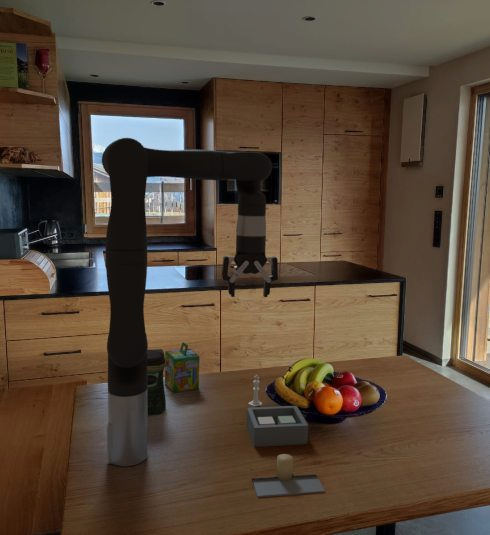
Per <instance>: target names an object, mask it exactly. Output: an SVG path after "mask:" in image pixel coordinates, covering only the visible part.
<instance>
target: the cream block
mask: <svg viewBox="0 0 490 535" xmlns="http://www.w3.org/2000/svg"><path fill="white" fill-rule="evenodd" d="M257 423H258V425H275V422H274V420H273V418H272V417H257Z"/></svg>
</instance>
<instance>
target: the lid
mask: <svg viewBox="0 0 490 535" xmlns="http://www.w3.org/2000/svg"><path fill="white" fill-rule="evenodd" d="M293 467H294V457H293V456H292V455H291V454H288V453H287V454H286V453H282V454H278V455H277V458H276V475H277V476H272V477H258V478H257V477H255V478H251V481H252V485H253V488H254V491H255V494H256V497H257V498H268V497H269V498H270V497H280V496H281V497H282V496H284V497H285V496H295V495H297V496H298V495H309V494H322V493H323V494H324V493H325V492H326V490H325V488H324V486H323V485H322V483H321V481H320V479H319V477H318V476H317V474H307V475H306V474H304V475H303V474H302V475H301V474H300V475H293V470H294V468H293Z"/></svg>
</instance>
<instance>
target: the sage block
mask: <svg viewBox="0 0 490 535" xmlns="http://www.w3.org/2000/svg"><path fill="white" fill-rule="evenodd" d="M280 424H296V422H295V420H294V418H293V416H278V425H280Z"/></svg>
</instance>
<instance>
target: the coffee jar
mask: <svg viewBox="0 0 490 535" xmlns="http://www.w3.org/2000/svg"><path fill="white" fill-rule="evenodd" d="M164 371H165V353H164V349H162V348H157V349H156V348H155V349H147V378H148V383H147V395H148V399H147V400H148V416H149V415H158V414H159V415H160V414H162V413H164V412H165V411H166V408H167V405H166V404H167V402H166V401H167V400H166V392H165V383H164V382H165V379H164Z"/></svg>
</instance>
